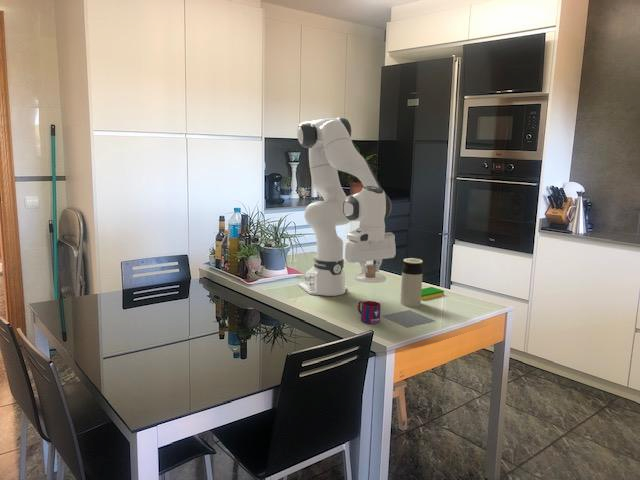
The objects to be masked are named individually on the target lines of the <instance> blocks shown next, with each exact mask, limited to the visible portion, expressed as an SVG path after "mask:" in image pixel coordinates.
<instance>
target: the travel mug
mask: <svg viewBox="0 0 640 480" xmlns="http://www.w3.org/2000/svg"><path fill="white" fill-rule="evenodd" d="M423 262H424V261H423V260H422V259H421V258H415V257H409V258H404V259H403V265H402V267H401V282H400V283H401V285H400V297H399V299H400V305H402V306H405V307H411V308H414V307H420V306H421V304H422V303H421V302H422V300H421V290H422V289H423V275H424V274H423V271H424V268H423V267H422V265H423Z"/></svg>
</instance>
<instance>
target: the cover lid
mask: <svg viewBox="0 0 640 480" xmlns="http://www.w3.org/2000/svg"><path fill="white" fill-rule="evenodd" d="M365 267H366V268H368V273H366V274H363V273H362V272H360V273H357V274H355V275H354V280H356V281H358V282H360V283H368V284H373V283H374V284H377V283H378V284H379V283H383V282H386V280H387V276H385V275H384V274H381V273H378V272H376V265H375V264H372V263H367V264H365Z"/></svg>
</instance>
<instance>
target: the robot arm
mask: <svg viewBox="0 0 640 480" xmlns="http://www.w3.org/2000/svg"><path fill="white" fill-rule="evenodd" d="M296 136H297V140H298V144H299V145H300V146H302V148H305V149H308V163H309V171H310V176H311V177H310V178H311V182H312V187H313V189H314V190H315V191H316V192H318V193H319V194H320V195H321V197H322V199H323V200H318V201H315V202H312V203H310V204H308V205H307V206H306V207H305V210H304V219H305V222H306V223H307V225H308V226H310V228H311V229H312V230H313V233H314V236H315V239H316V242H315V243H316V258H313V262H314V263H313V266H312V267H311V268H310V269H308V270H307V271H306V272H305V274H304V279H303V281H301V282H298V286H299V287H300V288H301V289H302V290H304V291H305V292H306V293H308V294H309V295H319V296H328V297H330V296H333V297H334V296H341V295H344V294H345V293H346V290H348V286H347V285H346V272H345V270H344V269H343V268H344V264H345V262H344V259H345V261H346V262H347V263H351V264H354V263H358V265H360V266H359V267H360V268H361V273H363V274H366V273H368V268H366V265H367V262H372V261H375V262H376V263H375V264H374V265H376V273H379V272H380V267H381V266H382V263H383V260H385V259H394V258H395V256H396V254H397V253H396V252H397V250H396V249H397V248H396V241H395V239H396V237H395V236H396V235H395V234H394V233H393V232H391V231H389V232H386V224H385V223H386V222H385V220H386V219H387V218H388V217H389V216H390V215H391V212H392V210H393V209H392V208H393V204H392V200H391V198H390V197H389V196H388V194H387V193H386V192H385V190H384V189H383V188H382V186H381V183H380V182H379V180H378V178H377V176H376V174H375V172H374V169H372V167H371V165H370V163H369V162H368V160H366V158H364V157H363V156H362V155H361V154H360V152H359V151H358V150H357V148H356V147H355V146H354V143H353V140H352V138H351V137H352V127H351V123H350V122H349V120H348V119H347V118H344V117H336V118H335V117H326V118H325V117H324V118H321V119H320V118H319V119H314V120H311V121H310V120H306V121H302V122H300V123H299V125H298V127H297V132H296ZM338 171H339V172H343V173H347V174H350V175H351V176H354V177H356V178H357V179H358V180H359V181H360V183H361V185H362V186H363V187H361V188H362V189H361V190H360V191H359V192H357V193H354V194H350V195H348V196H347V195H346V193H345V192H344V189H343V187H342V185H341V181H340V176H339V172H338ZM351 222H359V227H358V228H356V229H354V230H352V231H349V232H348V233H347V234H346V239H348V240H347V242H346V243H345V244H346V245H345V248H344V240H343V239H342V238H341V237H340V236H338V233H337V229H336V228H337V227H338V226H344V225H347V224H349V223H351ZM344 250H345V251H344ZM343 257H344V258H343Z"/></svg>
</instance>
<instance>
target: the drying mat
mask: <svg viewBox="0 0 640 480" xmlns="http://www.w3.org/2000/svg"><path fill="white" fill-rule="evenodd" d="M381 317H383V318H384V319H388V320H390V321H392V322H394V323H395V324H398V325H400V326H403V327H405V328H407V329H408V328H411V327H416V326H420V325H425V324H430V323H434V322H436V320H435V319H433V318H430V317H428V316H425V315H422V314H421V313H418V312H415V311H413V310H411V309H409V310H407V309H406V310H402V311H397V312H392V313H387V314H383V315H381Z"/></svg>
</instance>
